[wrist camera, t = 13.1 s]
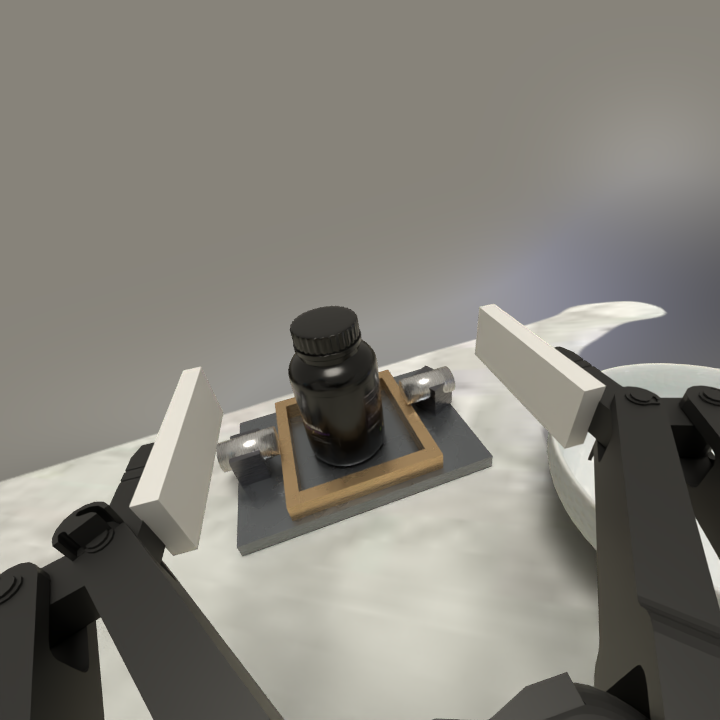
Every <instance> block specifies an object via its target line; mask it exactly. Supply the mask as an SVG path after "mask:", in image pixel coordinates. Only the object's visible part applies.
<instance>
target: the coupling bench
mask: <svg viewBox="0 0 720 720" xmlns="http://www.w3.org/2000/svg"><path fill="white" fill-rule="evenodd" d="M378 373H379V381H380V390H381V399H382V407H383V416H384V426H385V436H384V440H383V443H382V445H381V447H380V448H379V449H378V451H377V452H376V453H375V454H374V455H373V456H372V457H370V458H369V459H367V460H365V461H363V462H361V463H359V464H356V465H351V466H335V465H331V464H328V463H326V462H324V461H322V460H320V459H319V458H318V457H317V456H316V455H315V454H314V452H313V451H312V449H311V446H310V443H309V440H308V437H307V434H306V431H305V428H304V425H303V421H302V418H301V415H300V412H299V409H298V405H297V402H296V399H295V397H294V398H291V399H287V400H284V401H280V402H277V403H275V408H276V413H273V414H270V415H266V416H263V417H260V418H256V419H253V420H250V421H246V422H243V423H240V434H237V435H233V436H230V440H227V441H224V442H220V443H218V444H217V458H218V462H219V465H220V467H221V469H222V470H223V471H224V472H228V471H231V470H233V472H234V474H235V475H236V477H237V479H238V481H239V488H238V527H237V548H238V550H239V551H240V553H241V554H242V555H243V556H244V555H247V554H250V553H252V552H255V551H258V550H261V549H264V548H266V547H269V546H272V545H275V544H277V543H280V542H283V541H286V540H288V539H291V538H294V537H297V536H299V535H302V534H305V533H308V532H310V531H313V530H316V529H319V528H322V527H324V526H327V525H330V524H333V523H335V522H338V521H341V520H344V519H346V518H349V517H352V516H355V515H357V514H360V513H363V512H366V511H368V510H371V509H374V508H377V507H380V506H382V505H385V504H388V503H391V502H393V501H396V500H399V499H402V498H404V497H407V496H410V495H413V494H415V493H418V492H421V491H424V490H426V489H429V488H432V487H435V486H438V485H440V484H443V483H446V482H449V481H451V480H454V479H457V478H460V477H462V476H465V475H468V474H471V473H473V472H476V471H479V470H482V469H484V468H487V467H490V466H492V457H493V456H492V455H491V454H490V452H489V451H488V450H487V449H486V447H485V446H484V445H483V444H482V443H481V441H480V440H479V439H478V438H477V436H476V435H475V434H474V433H473V431H472V430H471V429H470V428H469V426H468V425H467V424H466V423H465V422H464V420H463V419H462V418H461V417H460V415H459V414H458V413H457V412H456V410H455V409H454V408H453V407H452V405H451V404H450V403H451V402H452V391H454V389H455V381H454V377H453V375H452V373H451V371H450V369H449V368H448V367H446V366H444V367H441V368H437V369H432V368H430V367H428V366H425V367H423V368H422V369H419V370H416V371H413V372H409V373H406V374H403V375H399V376H396V377H393V376H392V375H391V373H390V372H389V370H385V371H382V372H378Z"/></svg>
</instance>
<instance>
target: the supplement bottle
mask: <svg viewBox="0 0 720 720" xmlns="http://www.w3.org/2000/svg"><path fill="white" fill-rule="evenodd" d="M290 332H291V336H292V339H293V346H294V350H295V354H294V356H293V357H292V359H291V361H290V365H289V369H288V374H289V379H290V383H291V386H292V389H293V393H294V396H295V399H296V402H297V405H298V409H299V412H300V415H301V418H302V421H303V425H304V428H305V431H306V434H307V437H308V440H309V443H310V446H311V449H312V451H313V452H314V454H315V455H316V456H317V457H318V458H319V459H320V460H322V461H324V462H326V463H328V464H331V465H335V466H351V465H356V464H359V463H361V462H363V461H365V460H367V459H369V458H370V457H372V456H373V455H374V454H375V453H376V452H377V451H378V449H379V448H380V447H381V445H382V443H383V440H384V436H385V426H384V416H383V407H382V399H381V390H380V381H379V373H378V364H377V359H376V355H375V352H374V351H373V349H372V348H371V347H370V346H369V345H368V344H367V343H366V342H365V341H363V340H362V339H361V332H360V329H359V324H358V319H357V315H356V314H355V312H354V311H352V310H351V309H348V308H344V307H339V306H329V307H320V308H317V309H313V310H310V311H307V312H305V313H303V314H301V315H299V316H298V317H297V318H295V319H294V321H293V322H292V324H291V325H290Z"/></svg>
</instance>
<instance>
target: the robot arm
mask: <svg viewBox="0 0 720 720" xmlns="http://www.w3.org/2000/svg"><path fill="white" fill-rule="evenodd" d="M475 355H476V356H477V357H478V358H479V359H480V360H481V361H482V362H483V363H484V364H485V365H486V366H487V367H488V369H489V370H490V371H491V372H492V373H493V374H494V375H495V376H496V377H497V378H498V379H499V380H500V381H501V382H502V383H503V384H504V385H505V386H506V387H507V389H508V390H509V391H510V392H511V393H512V394H513V395H514V396H515V397H516V398H517V399H518V400H519V401H520V402H521V403H522V404H523V405H524V406H525V407H526V409H527V410H528V411H529V412H530V413H531V414H532V415H533V416H534V417H535V418H536V419H537V420H538V421H539V422H540V423H541V424H542V425H543V426H544V428H545V429H546V430H547V431H548V432H549V433H550V434H551V435H552V436H553V437H554V438H555V439H556V440H557V441H558V442H559V443H560V444H561V445H562V446H563V448H564V449H566V448H570V447H573V446H577V445H581V444H584V441H585V439H586V436H587V433H588V432H589V433H590V434H591V435H592V436H593V437H594V438H595V439H596V440H595V442H594V445H593V447H592V450H591V452H590V454H589V457H588V460H590V461H591V460H592V458H593V456H594V481H595V512H596V544H597V575H598V607H599V638H600V639H599V652H598V656H597V661H596V665H595V674H594V687H592V686H589V685H584V684H579V683H573V682H572V680H571V678H570V677H569V675H568V673H567V672H566V673H563V674H560V675H557V676H554V677H551V678H549V679H546V680H543V681H540V682H537V683H535V684H532V685H529V686H526V687H525V688H524V689H523V690H521V691H520V692H519V693H518V694H517V695H516V696H515V697H514V698H513V699H512V700H511V701H509V702H508V703H507V704H506V705H505V706H504V707H503V708H502V709H501V710H500V711H498V712H497V713H496V714H495V715H494V716H493V717H492V718H490V719H489V720H720V608H719V604H718V600H717V597H716V593H715V589H714V585H713V582H712V578H711V574H710V571H709V567H708V563H707V559H706V556H705V552H704V548H703V544H702V541H701V537H700V533H699V530H698V526H697V522H696V520H697V521H698V523H699V525H700V527H701V528H702V530H703V532H704V533H705V535H706V537H707V539H708V540H709V542H710V544H711V546H712V547H713V549H714V551H715V553H716V554H717V556H718V558H719V560H720V389H717V388H714V387H709V386H702V385H700V386H692V387H689V388H688V389H687V390H686V392H685V394H684V396H683V397H682V398H660V397H659V396H658V395H656V394H655V393H653V392H651V391H649V390H647V389H643V388H639V387H632V386H626V387H622V386H621V385H620V384H618V383H617V382H615V381H614V380H612V379H611V378H610V377H608V376H607V375H605V374H604V373H602V372H601V371H600V370H598V369H597V368H595V367H592V366H591V364H590V363H588V362H587V361H585V360H584V361H583V359H582V358H581V357H580V356H578V355H577V354H575V353H574V352H572V351H570V350H567V349H565V348H562V347H555V348H554V347H552V346H551V345H549V344H548V343H547V342H545V341H544V340H543V339H541V338H540V337H539V336H537V335H536V334H534V333H533V332H532V331H530V330H529V329H528V328H526V327H525V326H524V325H522V324H521V323H519V322H518V321H517V320H515V319H514V318H513V317H511V316H510V315H508V314H507V313H506V312H504V311H503V310H501V309H500V308H499V307H498V306H496V305H495V304H491V305H486V306H482V307H479V317H478V327H477V338H476V348H475ZM222 417H223V411H222V409H221V407H220V405H219V403H218V401H217V398H216V396H215V394H214V392H213V390H212V388H211V386H210V384H209V382H208V380H207V378H206V376H205V374H204V371H203V370H202V368H201V367H198V368H193V369H189V370H184V371H183V372H182V375H181V378H180V380H179V383H178V385H177V388H176V390H175V393H174V395H173V398H172V400H171V403H170V405H169V408H168V410H167V413H166V415H165V418H164V421H163V423H162V425H161V428H160V431H159V433H158V435H157V438H156V440H155V443H150V444H146V445H142V446H141V447H140V448H139V449H138V451H137V452H136V453H135V454H134V455H133V456H132V457H131V459H130V461H129V464H128V466H127V468H126V470H125V471H126V473H124V475H123V477H122V479H121V483H120V484H119V486H118V488H117V490H116V492H115V495H114V497H113V499H112V501H111V503H110V506H109V505H108V504H106V503H105V502H93V503H90V504H87V505H84V506H83V507H81V508H79V509H77V510H76V511H74V512H73V513H72V514H70V515H69V516H68V517H67V518H66V519H64V520H63V522H62V523H61V524H60V525H59V527H58V528H57V529H56V531H55V533H54V535H53V538H52V546H53V547H54V548H56V549H57V550H58V551H60V552H61V553H62V554H63V555H65V556H64V557H62V558H60V559H58V560H56V561H54V562H52V563H50V564H48V565H47V566H45V567H43V568H39V567H38V566H37V565H35V564H32V563H30V562H27V563H21V564H18V565H16V566H14V567H11V568H9V569H7V570H6V571H4V572H3V573H2V574H0V720H104V709H103V697H102V686H101V674H100V663H99V651H98V640H97V628H96V620H97V619H99V618H100V617H101V618H102V620H103V622H104V624H105V626H106V628H107V630H108V632H109V634H110V636H111V638H112V640H113V641H114V643H115V645H116V647H117V649H118V651H119V653H120V655H121V657H122V659H123V661H124V663H125V665H126V667H127V669H128V671H129V673H130V675H131V677H132V679H133V681H134V682H135V684H136V686H137V688H138V690H139V692H140V694H141V696H142V698H143V700H144V702H145V704H146V706H147V708H148V710H149V712H150V714H151V716H152V718H153V720H284V719H283V717H282V716H281V715H280V713H279V712H278V711H277V709H276V708H275V707H274V705H273V704H272V703H271V702H270V700H269V699H268V698H267V696H266V695H265V694H264V692H263V691H262V690H261V688H260V687H259V686H258V685H257V683H256V682H255V681H254V679H253V678H252V677H251V675H250V674H249V673H248V671H247V670H246V669H245V668H244V666H243V665H242V664H241V662H240V661H239V660H238V658H237V657H236V656H235V654H234V653H233V652H232V650H231V649H230V648H229V647H228V645H227V644H226V643H225V641H224V640H223V639H222V637H221V636H220V635H219V633H218V632H217V631H216V630H215V628H214V627H213V626H212V624H211V623H210V622H209V620H208V619H207V618H206V616H205V615H204V614H203V613H202V611H201V610H200V609H199V607H198V606H197V605H196V603H195V602H194V601H193V599H192V598H191V597H190V596H189V594H188V593H187V592H186V590H185V589H184V588H183V586H182V585H181V584H180V582H179V581H178V580H177V578H176V577H175V576H174V575H173V573H172V572H171V571H170V569H169V568H168V567H167V565H166V564H165V563H164V562H163V561H162V557H163V553H164V549H165V547H166V548H167V549H168V551H169V552H170V553H171V554H172V555H173V556H174V555H178V554H181V553H185V552H189V551H192V550H196V549H198V545H199V539H200V534H201V529H202V523H203V518H204V513H205V507H206V502H207V497H208V491H209V486H210V481H211V475H212V470H213V465H214V459H215V454H216V449H217V443H218V438H219V433H220V427H221V422H222ZM711 450H713V452H714V454H713V453H712V452H711ZM714 455H715V456H714ZM433 720H458V719H433Z"/></svg>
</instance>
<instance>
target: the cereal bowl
mask: <svg viewBox="0 0 720 720" xmlns="http://www.w3.org/2000/svg"><path fill="white" fill-rule="evenodd" d="M601 372H602V373H604V374H605V375H607V376H608V377H610V378H611V379H612V380H614V381H615V382H617V383H618V384H620V385H621V386H622V387H626V386H632V387H639V388H643V389H647V390H649V391H651V392H653V393H655V394H656V395H658V396H659V397H660V398H682V397H683V396H684V394H685V392H686V390H687V389H688V388H689V387H692V386H700V385H702V386H709V387H714V388H717V389H720V369H717V368H710V367H703V366H695V365H683V364H668V363H651V364H635V365H626V366H620V367H614V368H610V369H606V370H603V371H601ZM595 440H596V439H595V438H594V437H593V436H592V435H591V434H590V433H589V432H588V433H587V436H586V439H585V441H584V444H581V445H577V446H573V447H570V448H566V449H564V448H563V446H562V445H561V444H560V443H559V442H558V441H557V440H556V439H555V438H554V437H553V436H552V435H551V434H550V433H549V432H548V439H547V445H548V448H547V454H548V463H549V467H550V474H551V476H552V480H553V484H554V487H555V489H556V491H557V494H558V496H559V498H560V500H561V502H562V504H563V506H564V508H565V510H566V512H567V513H568V515H569V516H570V518H571V520H572V521H573V523H574V524H575V525H576V527H577V528H578V529H579V530H580V532H581V533H582V534H583V536H584V537H585V539H586V540H587V541H588V542H589V543H590V544H591V545H592V546H593V547H594V548H595V549H596V550H597V544H596V512H595V481H594V456H593V458H592V460H591V461H590V460H588V457H589V454H590V452H591V450H592V447H593V445H594V442H595ZM711 452H712V453H713V454H714V452H713V450H711ZM714 456H715V455H714ZM696 522H697V526H698V530H699V533H700V537H701V541H702V544H703V548H704V552H705V556H706V559H707V563H708V567H709V571H710V574H711V578H712V582H713V585H714V589H715V593H716V597H717V600H718V604H719V608H720V560H719V558H718V556H717V554H716V553H715V551H714V549H713V547H712V546H711V544H710V542H709V540H708V539H707V537H706V535H705V533H704V532H703V530H702V528H701V527H700V525H699V523H698V521H697V520H696Z"/></svg>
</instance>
